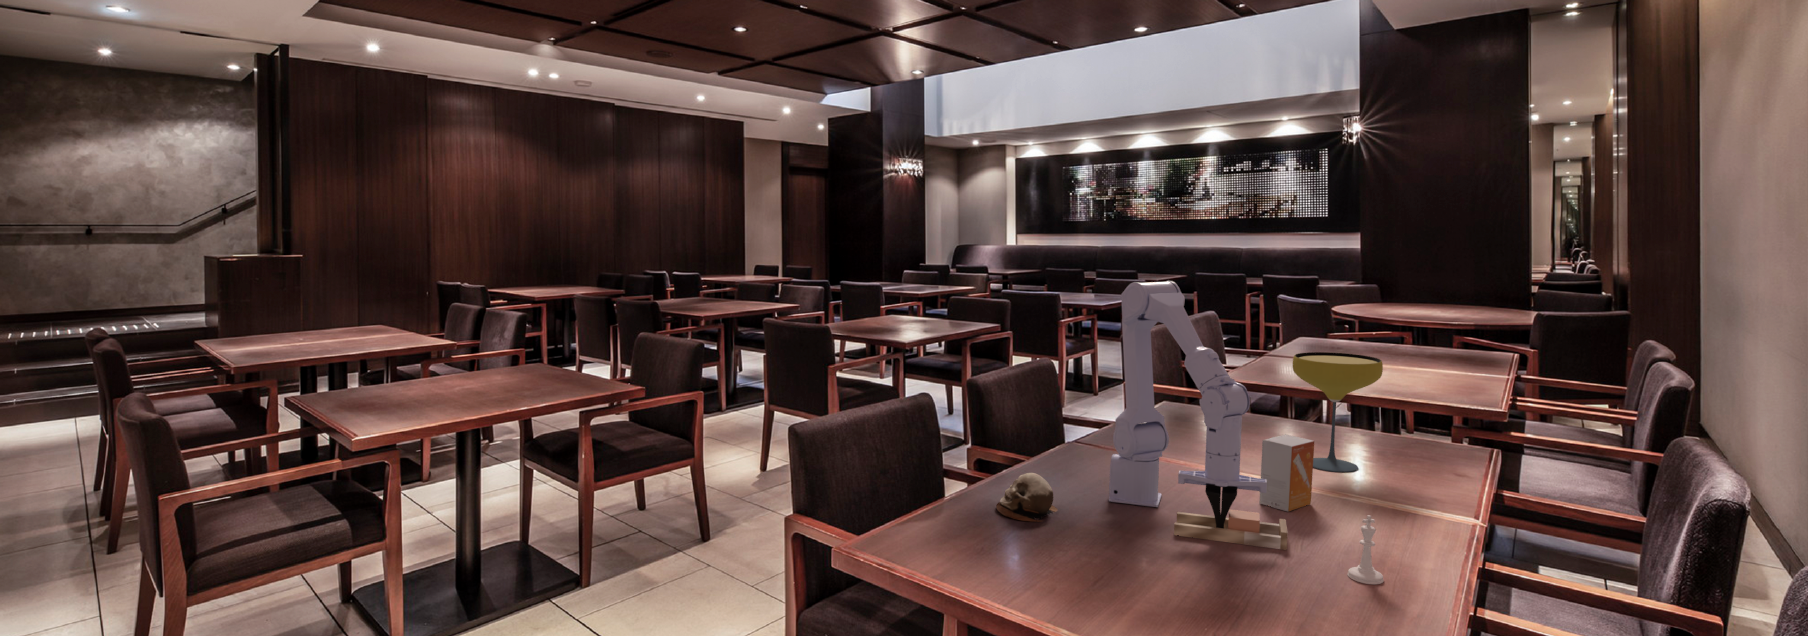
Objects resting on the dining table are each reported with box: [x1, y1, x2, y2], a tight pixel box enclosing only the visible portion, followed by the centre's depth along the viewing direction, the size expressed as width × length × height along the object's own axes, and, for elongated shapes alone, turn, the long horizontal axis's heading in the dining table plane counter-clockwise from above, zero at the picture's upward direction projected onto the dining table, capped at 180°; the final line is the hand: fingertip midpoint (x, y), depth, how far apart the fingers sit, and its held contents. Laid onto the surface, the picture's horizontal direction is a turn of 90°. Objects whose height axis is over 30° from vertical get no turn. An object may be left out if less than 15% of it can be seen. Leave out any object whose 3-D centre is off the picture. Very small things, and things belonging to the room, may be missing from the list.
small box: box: [1259, 433, 1315, 512], centre depth 161 cm, size 8×6×13 cm
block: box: [1228, 508, 1261, 533], centre depth 144 cm, size 5×4×4 cm
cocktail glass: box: [1292, 351, 1384, 473], centre depth 186 cm, size 18×18×25 cm
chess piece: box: [1347, 514, 1384, 585], centre depth 127 cm, size 5×5×10 cm
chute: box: [1173, 511, 1289, 551], centre depth 145 cm, size 18×7×3 cm, turn 67°
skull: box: [996, 472, 1059, 523], centre depth 158 cm, size 12×10×10 cm
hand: (1220, 526), depth 145 cm, fingers closed
